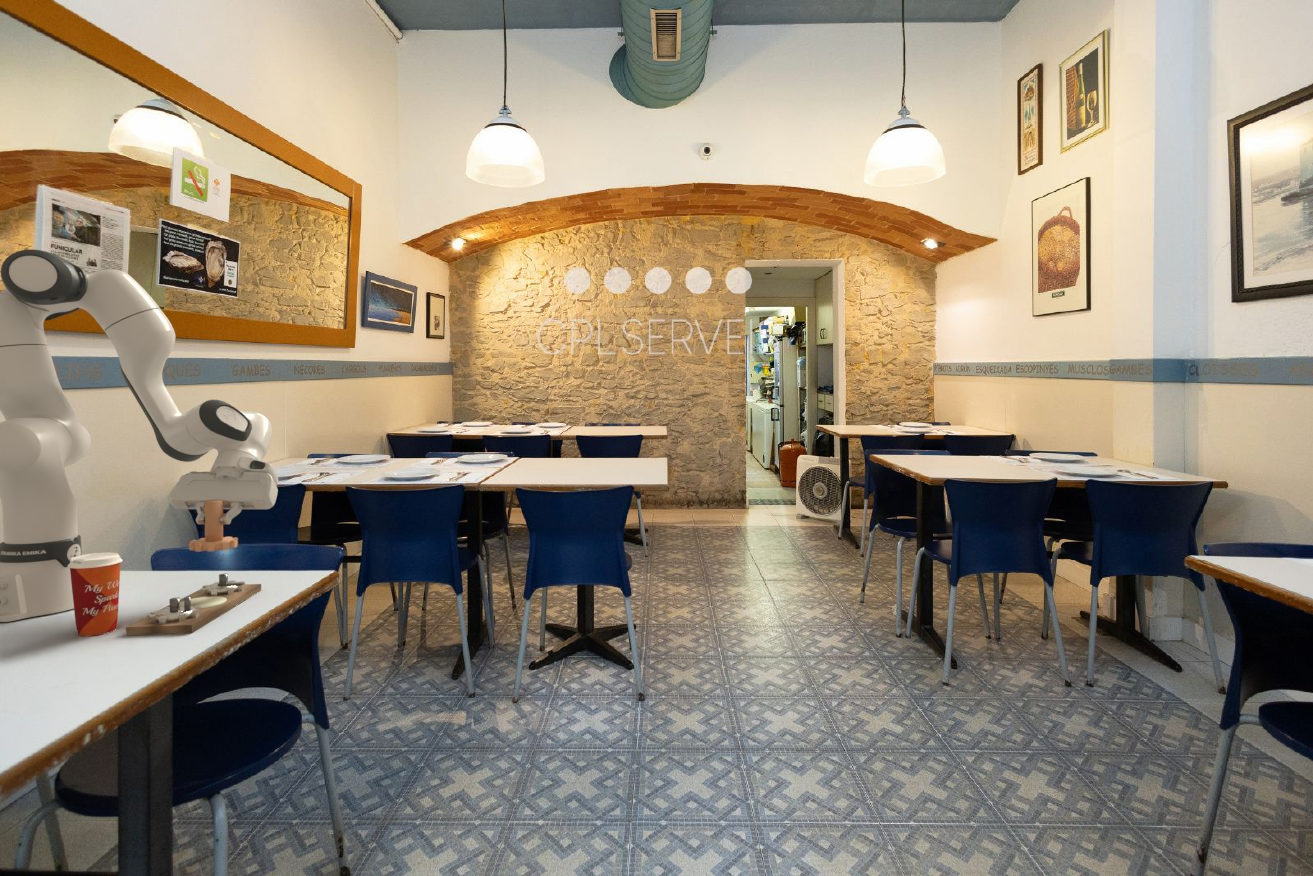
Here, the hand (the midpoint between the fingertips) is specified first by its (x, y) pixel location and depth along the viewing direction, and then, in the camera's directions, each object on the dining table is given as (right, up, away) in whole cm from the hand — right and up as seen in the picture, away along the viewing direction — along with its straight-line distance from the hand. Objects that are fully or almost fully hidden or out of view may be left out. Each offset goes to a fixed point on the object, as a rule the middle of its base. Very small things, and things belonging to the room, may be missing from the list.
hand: (212, 522), depth 138 cm
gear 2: (0, -15, +4) cm, 16 cm away
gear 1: (+2, -16, -14) cm, 22 cm away
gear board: (+1, -17, -5) cm, 18 cm away
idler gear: (0, -5, +1) cm, 5 cm away
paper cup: (-9, -18, -18) cm, 27 cm away
